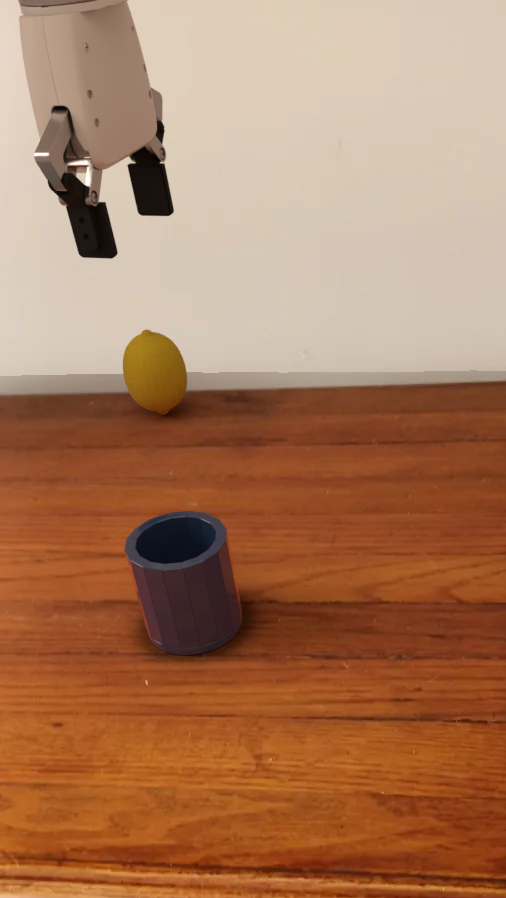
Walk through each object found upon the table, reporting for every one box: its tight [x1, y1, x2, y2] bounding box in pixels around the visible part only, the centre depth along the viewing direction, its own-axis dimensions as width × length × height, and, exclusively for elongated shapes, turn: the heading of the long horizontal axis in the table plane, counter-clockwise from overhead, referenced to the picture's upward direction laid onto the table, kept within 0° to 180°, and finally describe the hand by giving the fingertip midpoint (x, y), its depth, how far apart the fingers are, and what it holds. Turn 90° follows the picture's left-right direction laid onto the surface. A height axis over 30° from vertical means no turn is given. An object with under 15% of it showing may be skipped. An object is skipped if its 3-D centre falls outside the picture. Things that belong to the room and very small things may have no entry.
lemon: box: [122, 329, 188, 416], centre depth 86 cm, size 6×6×8 cm
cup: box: [123, 510, 244, 656], centre depth 63 cm, size 6×6×7 cm
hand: (129, 234), depth 78 cm, fingers open, 9 cm apart
